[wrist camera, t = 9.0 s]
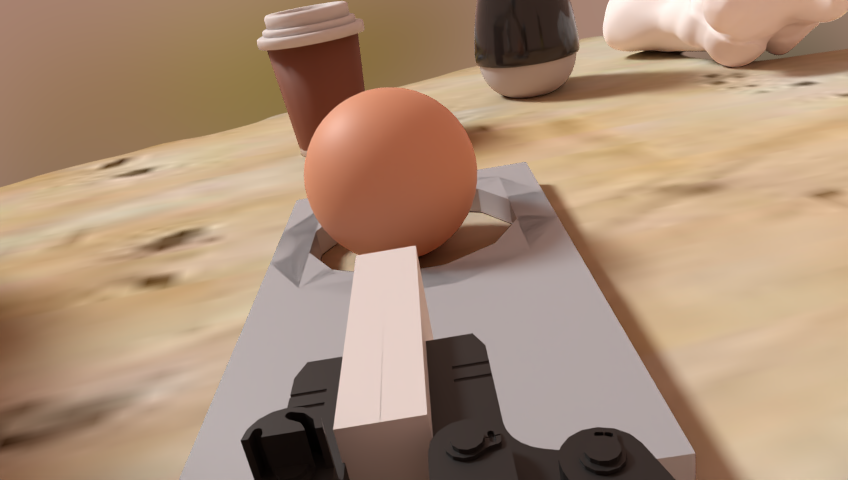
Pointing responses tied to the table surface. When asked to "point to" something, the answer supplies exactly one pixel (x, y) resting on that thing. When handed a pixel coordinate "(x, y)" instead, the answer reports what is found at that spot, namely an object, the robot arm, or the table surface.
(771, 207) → the table surface
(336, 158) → the ball
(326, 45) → the coffee cup
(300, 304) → the board
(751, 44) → the torso sculpture
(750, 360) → the table surface
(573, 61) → the black egg shaped figurine
